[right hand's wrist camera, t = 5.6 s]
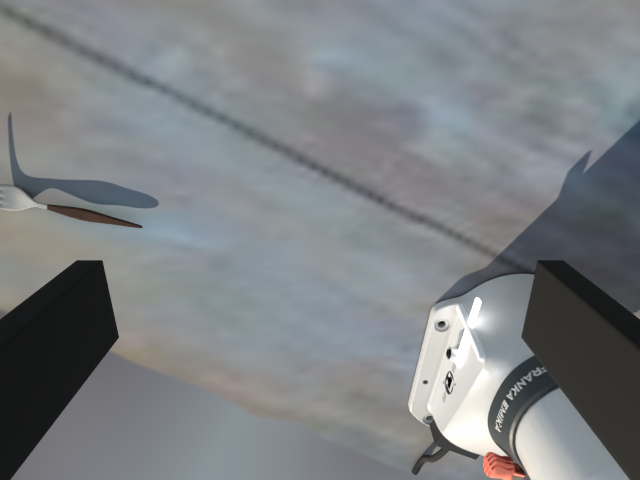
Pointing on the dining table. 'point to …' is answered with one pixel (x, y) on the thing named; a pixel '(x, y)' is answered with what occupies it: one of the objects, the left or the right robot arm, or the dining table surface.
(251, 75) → the dining table surface
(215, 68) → the dining table surface
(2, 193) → the fork
